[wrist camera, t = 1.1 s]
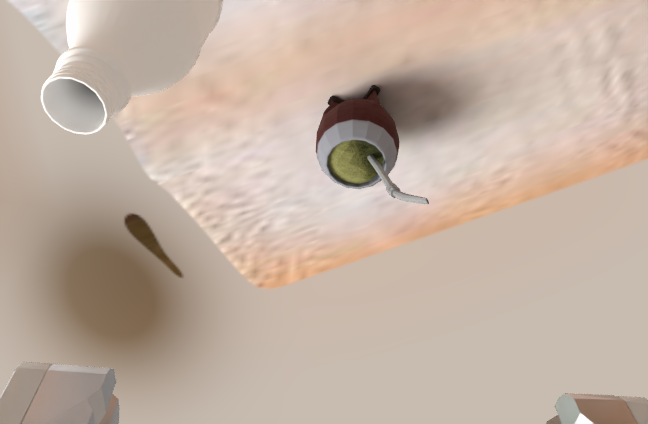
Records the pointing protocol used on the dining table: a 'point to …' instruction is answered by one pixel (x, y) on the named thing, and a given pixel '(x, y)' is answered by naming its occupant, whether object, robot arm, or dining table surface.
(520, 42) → the dining table surface
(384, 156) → the mate gourd
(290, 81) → the dining table surface
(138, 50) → the water bottle
